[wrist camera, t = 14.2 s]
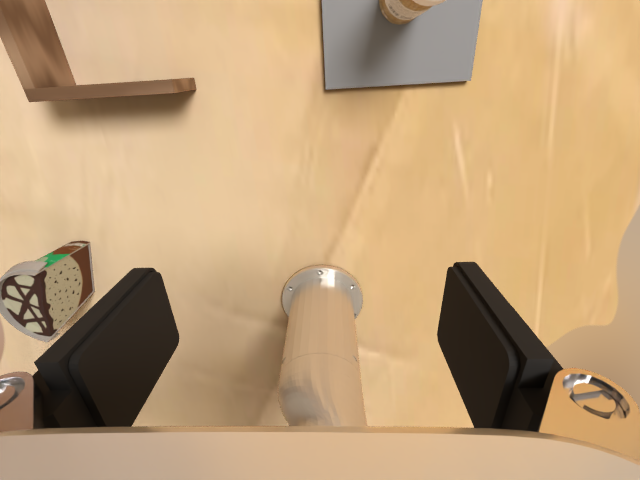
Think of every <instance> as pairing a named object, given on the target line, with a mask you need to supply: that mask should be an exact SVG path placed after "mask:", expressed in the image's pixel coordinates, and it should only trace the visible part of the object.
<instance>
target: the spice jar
mask: <svg viewBox="0 0 640 480" xmlns="http://www.w3.org/2000/svg"><path fill="white" fill-rule="evenodd" d="M444 1H446V0H379V4H380V9H381V12H382V14H383V16H384V17H385V18H386V19H387V20H388V21H389V22H391V23H393V24H398V25H400V24H406V23H408V22H410V21H412V20H413V19H414V18H415V17H417V16H419V15H421V14H422V13H424V12H425V11H427V10H429V9H430V8H431V7H432V6H434V5H438V4H440V3H443V2H444Z"/></svg>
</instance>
